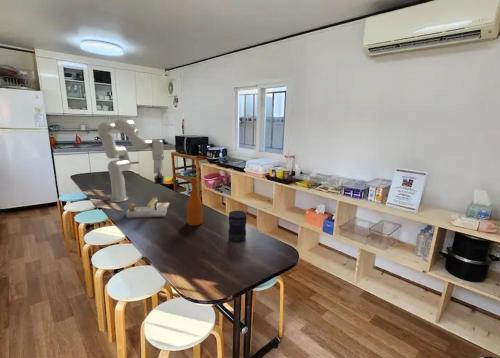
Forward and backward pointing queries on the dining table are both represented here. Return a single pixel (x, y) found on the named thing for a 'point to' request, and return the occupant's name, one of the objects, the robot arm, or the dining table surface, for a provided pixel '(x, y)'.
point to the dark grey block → (161, 180)
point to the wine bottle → (194, 206)
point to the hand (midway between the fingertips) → (159, 181)
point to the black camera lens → (237, 226)
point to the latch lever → (152, 202)
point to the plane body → (146, 211)
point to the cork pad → (162, 204)
